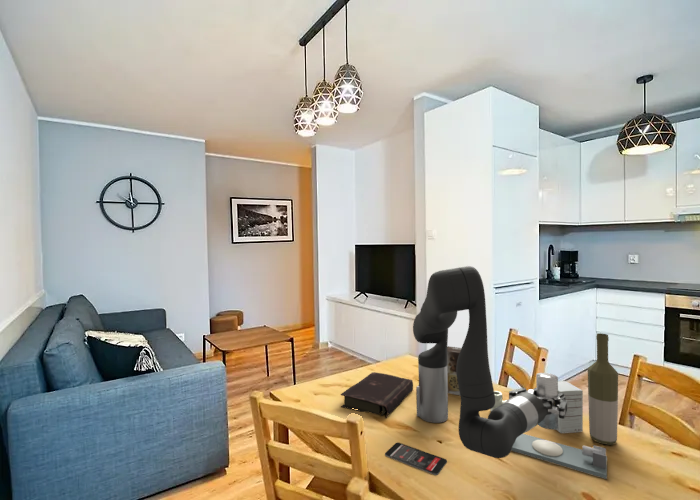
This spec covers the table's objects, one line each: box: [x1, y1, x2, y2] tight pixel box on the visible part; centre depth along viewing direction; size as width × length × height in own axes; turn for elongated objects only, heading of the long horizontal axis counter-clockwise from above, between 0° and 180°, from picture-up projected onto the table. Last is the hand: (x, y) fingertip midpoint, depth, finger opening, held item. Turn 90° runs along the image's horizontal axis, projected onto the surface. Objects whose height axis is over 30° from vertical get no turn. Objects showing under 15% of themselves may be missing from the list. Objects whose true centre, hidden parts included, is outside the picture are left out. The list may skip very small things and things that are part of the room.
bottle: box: [587, 332, 619, 446], centre depth 101 cm, size 7×7×30 cm
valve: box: [489, 390, 508, 412], centre depth 117 cm, size 7×7×12 cm
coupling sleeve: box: [535, 372, 559, 430], centre depth 96 cm, size 5×5×13 cm
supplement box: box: [555, 380, 584, 434], centre depth 109 cm, size 7×7×13 cm
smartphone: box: [384, 441, 448, 476], centre depth 95 cm, size 7×1×15 cm
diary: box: [340, 372, 414, 419], centre depth 132 cm, size 19×25×5 cm
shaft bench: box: [511, 433, 608, 480], centre depth 96 cm, size 26×9×4 cm, turn 54°
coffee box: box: [447, 345, 462, 396], centre depth 136 cm, size 9×6×16 cm
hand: (551, 393), depth 97 cm, fingers closed on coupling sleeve, 5 cm apart
